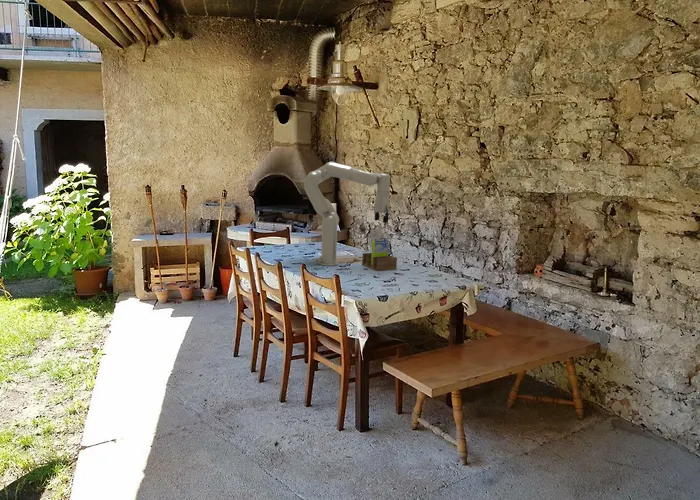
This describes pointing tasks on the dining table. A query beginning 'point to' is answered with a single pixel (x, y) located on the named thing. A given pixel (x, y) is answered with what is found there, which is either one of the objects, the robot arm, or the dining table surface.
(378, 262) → the rack
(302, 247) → the dining table surface
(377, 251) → the box
